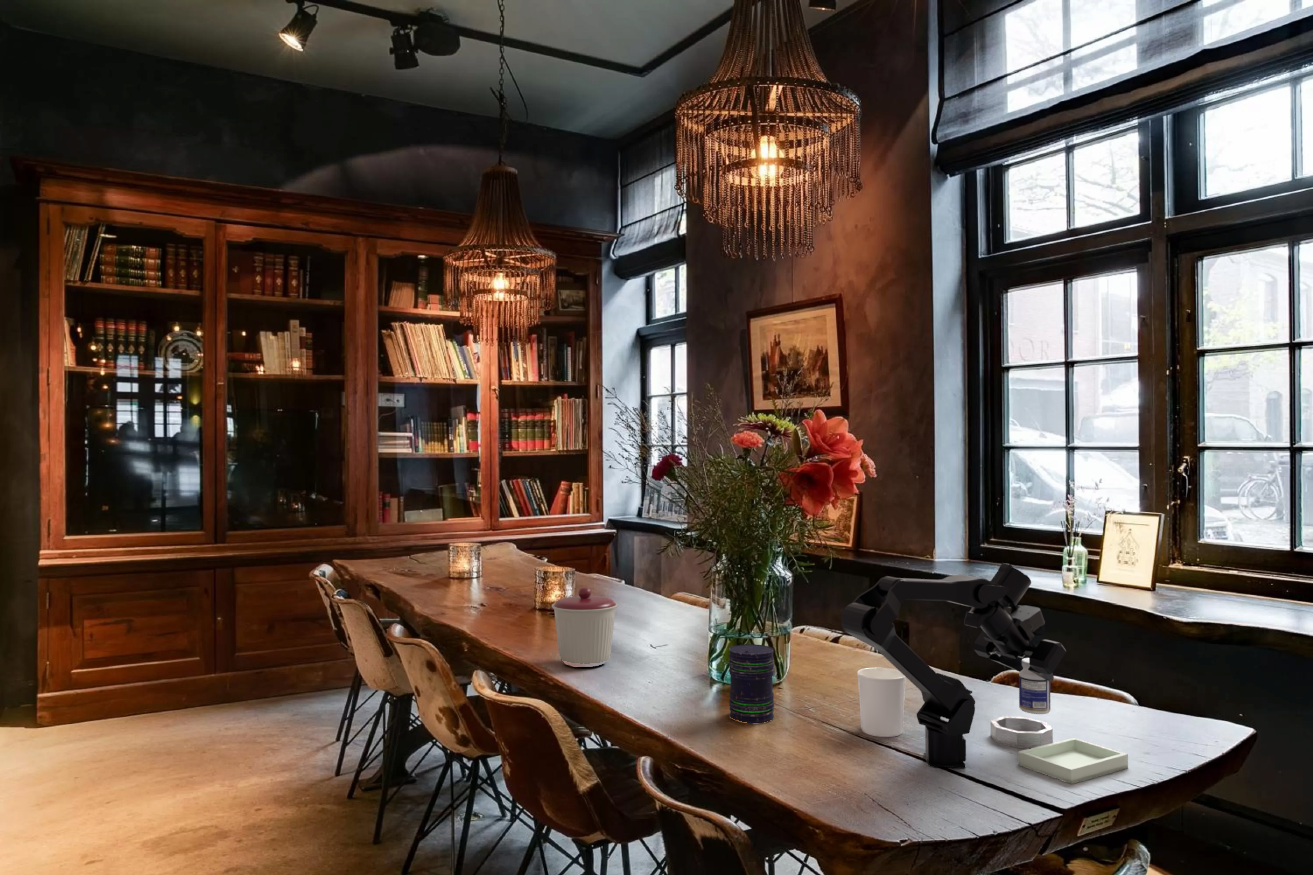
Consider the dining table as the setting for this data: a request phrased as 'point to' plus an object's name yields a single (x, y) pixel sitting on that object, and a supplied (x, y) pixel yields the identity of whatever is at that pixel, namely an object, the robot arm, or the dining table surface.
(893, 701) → the candle holder
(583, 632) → the canister
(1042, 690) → the pill bottle
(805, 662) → the dining table surface
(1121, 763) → the sage tray
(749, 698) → the storage jar
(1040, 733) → the steel collar
